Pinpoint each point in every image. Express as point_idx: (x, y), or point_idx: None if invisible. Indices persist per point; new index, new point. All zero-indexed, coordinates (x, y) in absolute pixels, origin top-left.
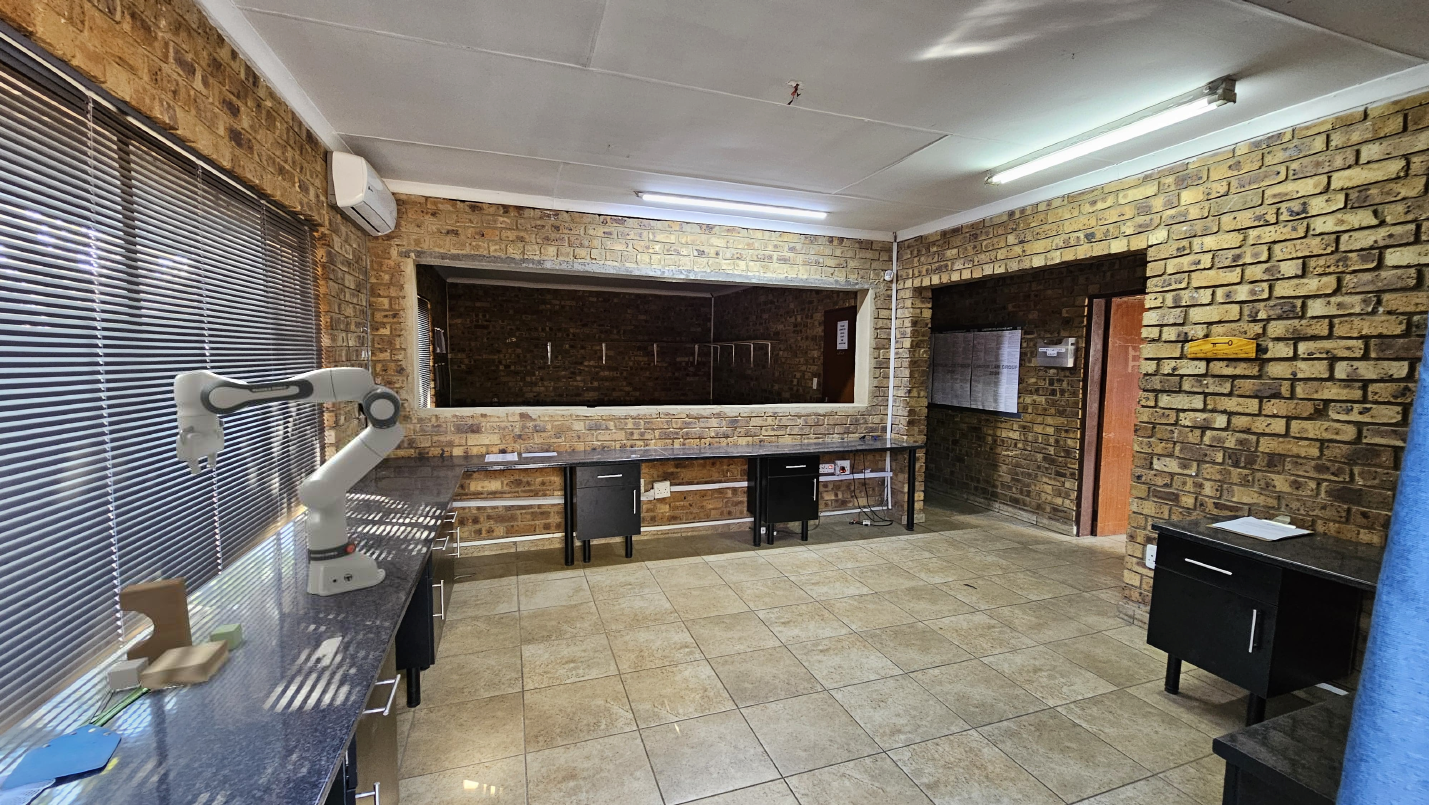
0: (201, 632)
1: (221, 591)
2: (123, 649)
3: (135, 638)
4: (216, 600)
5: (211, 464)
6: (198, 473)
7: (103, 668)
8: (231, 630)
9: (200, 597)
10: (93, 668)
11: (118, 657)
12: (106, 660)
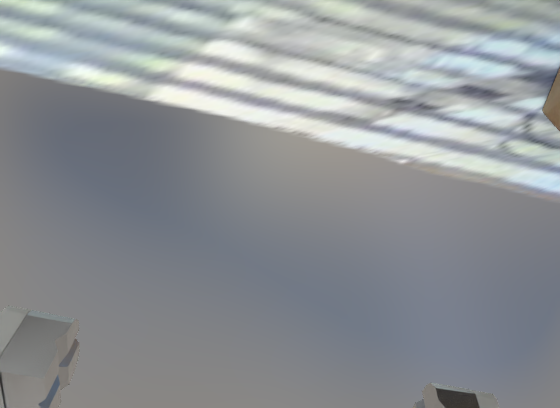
0: (458, 5)
1: (94, 10)
2: (429, 153)
3: (370, 146)
4: (181, 10)
5: (55, 370)
6: (472, 390)
7: (523, 164)
8: None
9: (124, 60)
10: (504, 180)
11: (477, 152)
12: (475, 169)
